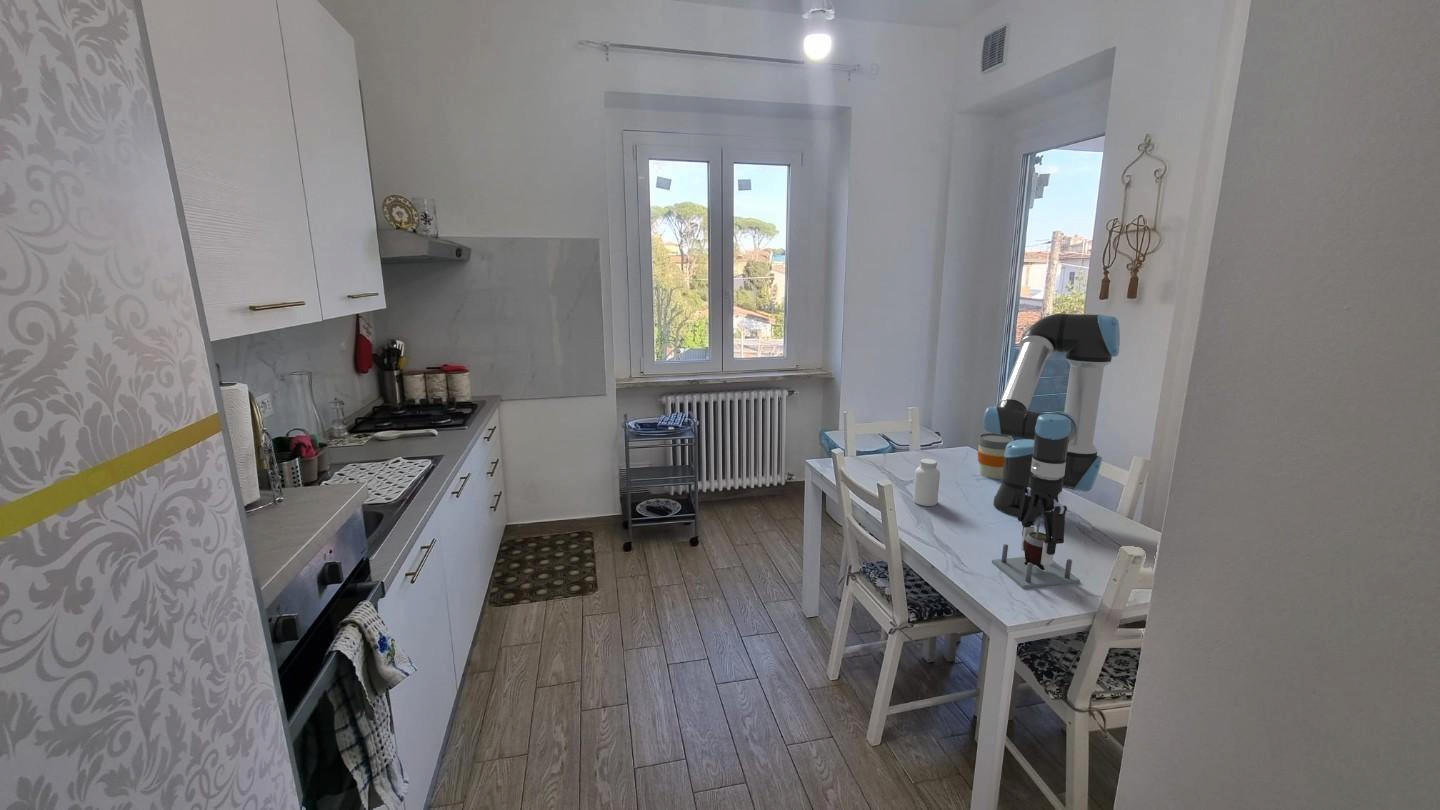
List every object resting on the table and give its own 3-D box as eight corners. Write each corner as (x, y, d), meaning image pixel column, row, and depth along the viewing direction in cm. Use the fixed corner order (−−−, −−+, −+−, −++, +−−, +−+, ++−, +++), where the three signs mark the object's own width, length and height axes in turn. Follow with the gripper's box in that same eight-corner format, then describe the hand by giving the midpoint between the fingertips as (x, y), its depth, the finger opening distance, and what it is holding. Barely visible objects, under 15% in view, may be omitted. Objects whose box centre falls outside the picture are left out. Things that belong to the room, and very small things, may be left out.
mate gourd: (1041, 556, 156) (1047, 505, 152) (1059, 571, 148) (1066, 518, 144) (1014, 557, 155) (1020, 506, 152) (1031, 573, 148) (1037, 519, 144)
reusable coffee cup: (982, 480, 216) (986, 442, 213) (969, 468, 229) (973, 432, 225) (1016, 480, 216) (1020, 442, 212) (1001, 468, 228) (1005, 432, 225)
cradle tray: (1044, 557, 160) (1047, 538, 159) (1079, 582, 147) (1082, 562, 146) (991, 562, 158) (993, 543, 156) (1022, 588, 145) (1025, 567, 144)
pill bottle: (942, 504, 196) (946, 463, 192) (923, 508, 193) (926, 466, 189) (926, 496, 203) (929, 455, 199) (908, 499, 200) (910, 459, 196)
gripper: (1008, 462, 155) (999, 540, 161) (1061, 490, 136) (1049, 577, 141) (1034, 461, 156) (1024, 538, 162) (1090, 488, 137) (1077, 575, 142)
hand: (1036, 556), depth 152 cm, fingers closed on mate gourd, 7 cm apart
